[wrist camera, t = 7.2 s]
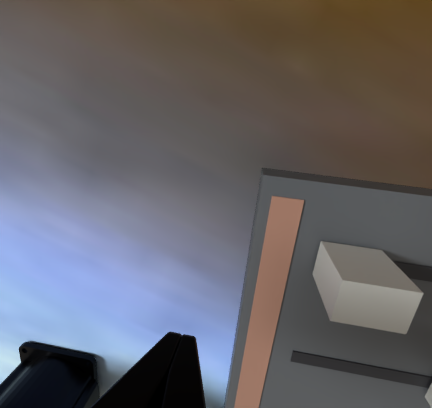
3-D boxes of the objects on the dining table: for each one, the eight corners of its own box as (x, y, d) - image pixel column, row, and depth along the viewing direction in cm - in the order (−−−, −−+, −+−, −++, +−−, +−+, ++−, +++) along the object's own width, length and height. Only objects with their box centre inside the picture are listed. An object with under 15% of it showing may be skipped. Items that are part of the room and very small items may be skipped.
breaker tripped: (312, 274, 14) (330, 320, 11) (320, 241, 14) (342, 280, 10) (370, 283, 14) (406, 334, 11) (381, 250, 13) (423, 293, 10)
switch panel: (220, 426, 22) (217, 456, 20) (261, 167, 15) (263, 175, 13) (450, 477, 20) (471, 516, 18) (618, 212, 13) (681, 229, 11)
